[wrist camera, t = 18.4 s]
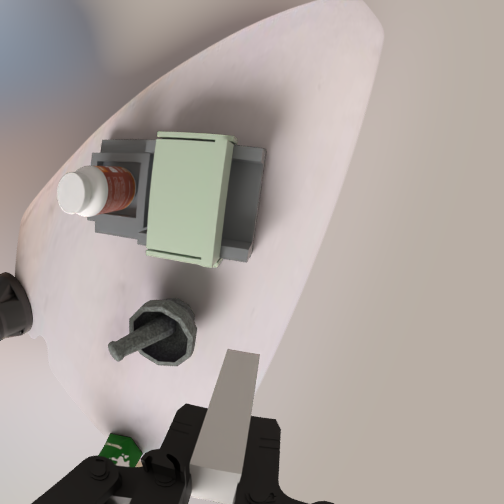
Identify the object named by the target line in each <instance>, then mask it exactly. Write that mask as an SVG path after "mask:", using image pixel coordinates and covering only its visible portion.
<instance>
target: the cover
mask: <svg viewBox="0 0 504 504" xmlns="http://www.w3.org/2000/svg"><path fill="white" fill-rule="evenodd" d="M157 137H160V138H163V139H156V146H155V153H154V161H153V169H152V178H151V188H150V198H149V210H148V225H147V243H146V248H149V249H148V250H146V255H148V256H153V257H158V258H164V259H169V260H175V261H181V262H186V263H192V264H198V265H201V266H203V267H209V268H212V267H215V268H217V267H218V266H219V265H220V263H221V262H222V259H223V258H219V257H220V248H221V240H222V231H223V223H224V214H225V206H226V199H227V191H228V183H229V176H230V168H231V161H232V154H233V147H234V145H237V143H238V140H237V139H236V138H235V137H234V136H230V135H218V134H205V133H187V132H158V133H157Z"/></svg>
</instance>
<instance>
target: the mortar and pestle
mask: <svg viewBox="0 0 504 504" xmlns="http://www.w3.org/2000/svg"><path fill="white" fill-rule="evenodd" d="M196 332H197V327H196V325H195V323H194V314H193V312H192V310H191V309H190V307H189V305H187V304H186V303H184V302H182V301H181V300H179V299H166V300H150V301H148V302H146V303H145V304H144V305H143V306H142V307H141V308H140V309H139V310H138V311H137V312H136V313H135V314H134V315H133V316H132V317H131V318H130V319H129V334H128V335H126V336H125V337H123V338H121V339H120V340H118V341H116V342H115V341H112V342H110V343H109V344H108V348H109V352H110V354H111V355H112V357H113V358H114V359H115V360H116V361H121V360H122V359H123V358H124V356H127V355H129V354H131V353H133V352H136V351H139V353H140V354H141V355H143V356H144V357H146V358H147V359H149V360H151V361H152V362H154V363H156V364H157V365H164V366H178V365H180V364H181V363H182V362H184V361H185V360H187V359H188V358H189V357H191V355H192V353H193V351H194V346H195V340H196Z"/></svg>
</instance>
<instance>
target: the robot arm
mask: <svg viewBox="0 0 504 504" xmlns="http://www.w3.org/2000/svg"><path fill="white" fill-rule="evenodd" d="M31 327H32V312H31V308H30V304H29V301H28V298H27V296H26V294H25V292H24V290H23V288H22V286H21V285H20V283H19V282H18V281H17V279H16V278H15V277H14V276H13V275H11V274H10V273H7V272H5V273H2V274H0V341H1V340H3V339H4V338H9V337H14V336H20V335H23V334H25V333H26V332H28V331H29V330H30V329H31ZM259 357H260V354H253V353H247V352H242V351H236V350H231V349H228V350H227V353H226V356H225V359H224V362H223V365H222V368H221V371H220V374H219V377H218V380H217V383H216V386H215V389H214V392H213V395H212V398H211V401H210V404H209V407H208V408H203V407H199V406H195V405H190V404H185V405H184V406H182V407H181V408H180V409H179V410H177V412H176V415H175V417H174V419H173V422H172V423H171V426H170V428H169V430H168V432H167V435H166V437H165V439H164V441H163V443H162V446H161V448H160V449H156V450H151V451H149V452H147V453H145V454H144V455H143V457H142V458H141V462H142V465H143V467H125V466H117V465H116V464H115V463H114V462H113V461H111V460H110V459H108V458H106V457H103V456H91V457H88V458H87V459H85V460H83V461H82V462H81V463H80V464H79V465H78V466H76V467H75V468H74V469H73V470H72V471H71V472H69V473H68V474H67V475H66V476H65V477H63V478H62V479H61V480H60V481H59V482H57V484H55V485H54V486H53V487H51V488H50V489H49V490H48V491H47V492H45V493H44V494H43V495H42V496H40V497H39V498H38V499H37V500H35V501H34V502H33V503H32V504H188V502H189V499H190V496H191V497H195V498H199V499H204V500H208V501H213V502H218V503H224V504H308V503H304V502H301V501H298V500H294V499H292V498H290V497H288V496H287V495H285V494H284V493H283V491H282V490H281V489H280V486H279V483H278V474H279V455H280V433H281V432H280V431H281V429H280V427H279V425H278V424H277V421H276V419H269V418H261V417H254V416H251V412H252V405H253V399H254V392H255V385H256V378H257V371H258V364H259ZM312 504H334V503H331V502H327V501H318V502H315V503H312Z"/></svg>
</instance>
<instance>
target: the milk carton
mask: <svg viewBox="0 0 504 504" xmlns="http://www.w3.org/2000/svg"><path fill="white" fill-rule="evenodd" d="M98 456H103V457H106V458H108V459H110V460H111V461H113V462H114V463H115V464H116V465H117V466H125V467H135V466H136V464H137V463H138V461H139V459H140V458H141V456H142V452H141V451H140V450H139V448H138V447H137V445H136V444H135V443H134V441H133V440H132V438H131V437H125V436H119V435H114V434H110V435H109V437H108V439H107V441H106V443H105V445H104V447H103V449H102V451H101V452H100V454H99V455H98Z"/></svg>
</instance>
